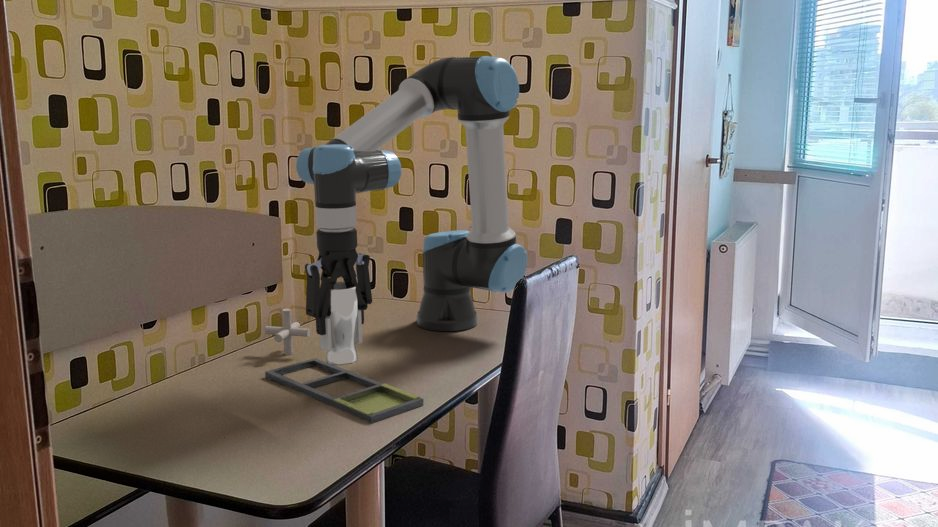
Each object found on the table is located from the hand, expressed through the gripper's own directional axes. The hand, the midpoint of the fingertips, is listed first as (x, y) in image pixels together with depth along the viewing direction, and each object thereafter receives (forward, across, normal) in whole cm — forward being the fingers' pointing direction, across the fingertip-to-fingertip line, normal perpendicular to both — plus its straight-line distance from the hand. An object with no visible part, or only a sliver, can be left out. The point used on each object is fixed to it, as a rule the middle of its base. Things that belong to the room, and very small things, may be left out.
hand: (341, 345), depth 166 cm
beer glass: (+3, 0, 0) cm, 3 cm away
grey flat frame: (+9, +1, 0) cm, 9 cm away
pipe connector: (+9, -5, -27) cm, 29 cm away
